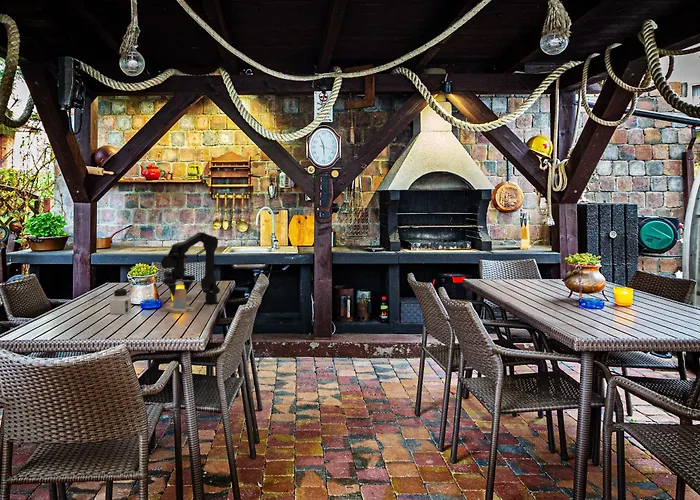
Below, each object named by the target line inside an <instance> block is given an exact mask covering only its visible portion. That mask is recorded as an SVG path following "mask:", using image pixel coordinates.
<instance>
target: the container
mask: <svg viewBox="0 0 700 500" xmlns="http://www.w3.org/2000/svg"><path fill="white" fill-rule="evenodd" d="M131 299H132V298H131V297H128V292H127V289H126V288H115V289H114V290H113V298H111V299H110V300H109V313H110V314H111V315H125V314H129V313H130V312H131V311H132V309H131V308H132V303H131V302H132V300H131Z"/></svg>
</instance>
